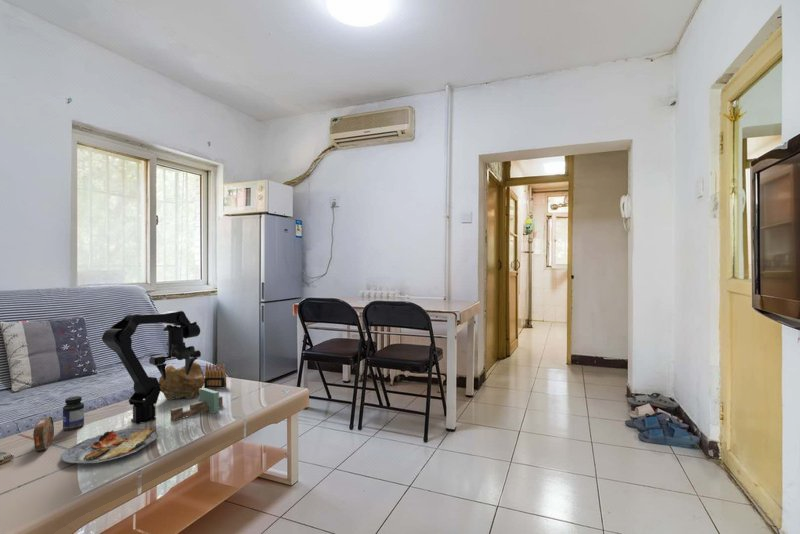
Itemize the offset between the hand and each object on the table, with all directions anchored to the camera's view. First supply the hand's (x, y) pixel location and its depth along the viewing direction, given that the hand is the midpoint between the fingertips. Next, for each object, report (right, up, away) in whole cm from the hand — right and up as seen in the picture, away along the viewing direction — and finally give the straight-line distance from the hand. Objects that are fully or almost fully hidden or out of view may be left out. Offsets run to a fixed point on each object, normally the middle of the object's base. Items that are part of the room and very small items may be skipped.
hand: (176, 377), depth 166 cm
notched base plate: (+13, -13, -7) cm, 19 cm away
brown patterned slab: (-23, -13, -36) cm, 45 cm away
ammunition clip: (+2, -14, +30) cm, 33 cm away
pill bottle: (-27, -13, -20) cm, 36 cm away
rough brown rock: (-5, -14, +17) cm, 22 cm away
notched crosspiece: (+16, -13, -3) cm, 20 cm away
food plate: (+2, -13, -40) cm, 42 cm away
